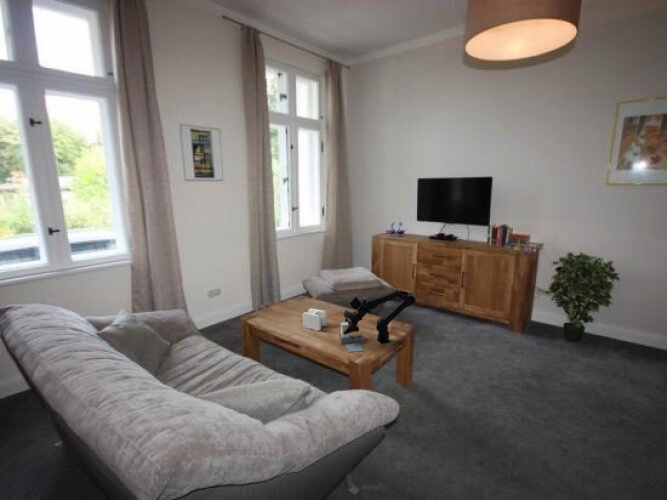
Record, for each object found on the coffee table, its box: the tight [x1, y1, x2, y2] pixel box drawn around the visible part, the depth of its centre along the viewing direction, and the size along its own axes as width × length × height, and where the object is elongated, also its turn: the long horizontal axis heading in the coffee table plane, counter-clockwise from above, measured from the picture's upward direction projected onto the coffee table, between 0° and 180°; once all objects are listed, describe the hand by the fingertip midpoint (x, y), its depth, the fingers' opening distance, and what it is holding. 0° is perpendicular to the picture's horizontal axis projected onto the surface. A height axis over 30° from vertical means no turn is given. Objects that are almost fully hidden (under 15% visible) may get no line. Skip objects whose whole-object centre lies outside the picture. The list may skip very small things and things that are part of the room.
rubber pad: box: [344, 343, 365, 353], centre depth 219 cm, size 10×10×1 cm
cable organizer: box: [302, 308, 328, 332], centre depth 248 cm, size 15×11×12 cm
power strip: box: [338, 333, 367, 346], centre depth 227 cm, size 16×7×4 cm, turn 100°
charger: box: [340, 321, 350, 338], centre depth 225 cm, size 4×4×10 cm
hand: (342, 331), depth 225 cm, fingers open, 7 cm apart
